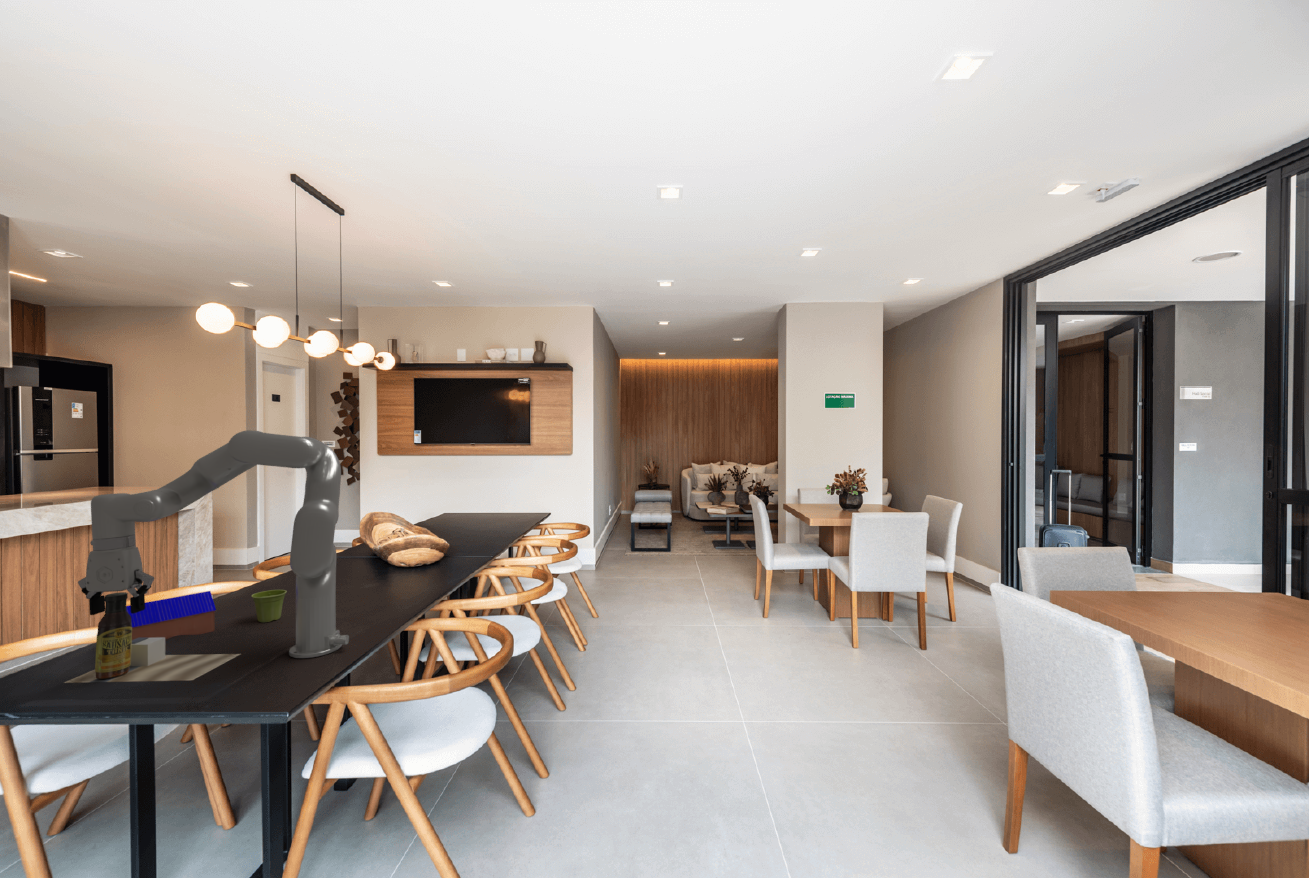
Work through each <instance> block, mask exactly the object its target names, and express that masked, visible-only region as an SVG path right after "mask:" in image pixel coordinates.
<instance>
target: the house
mask: <svg viewBox="0 0 1309 878" xmlns="http://www.w3.org/2000/svg"><path fill="white" fill-rule="evenodd" d="M126 608H127V610H126V611H127V612H128V613H129V615H130V616H131V619H132V640H134V639H136V638H139V637H148V638H156V637H165V641H166V640H169V639H171V638H173V637H177V636H191V635H192V636H195V635H196V636H197V635H202V634H208V633H213V632H215V630H216V628H215V626H216V625H215V622H216V621H215V611H216V610H217V609H216V605H215V602H214V599H213V596H212V592H211V590H207V591H201V592H197V593H191V594H186V595H185V594H184V595H180V596H174V597H168V598H163V599H159V600H153V601H145V609H144V610H142V611H140V612H137V613H131V608H130V605H126Z"/></svg>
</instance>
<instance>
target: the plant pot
mask: <svg viewBox="0 0 1309 878" xmlns="http://www.w3.org/2000/svg"><path fill="white" fill-rule="evenodd" d="M287 592H288V591H287V590H285V589H271V590H270V589H269V590H265V591H263V590H262V591H259V592H256V593H253V594H251V599H253V600H252V601H253V602H254V608H255V612H256V618H257V622H260V623H268V622H269V623H270V622H272V621H278V620H279V619H281V616H282V611H283V605H284V598H285V596H286V594H287Z"/></svg>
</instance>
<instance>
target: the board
mask: <svg viewBox="0 0 1309 878" xmlns="http://www.w3.org/2000/svg"><path fill="white" fill-rule="evenodd" d="M240 655H241V653H221V654H220V653H217V654H216V653H215V654H214V653H212V654H210V653H209V654H204V653H203V654H165V658H164V659H162V660H160V661H158V662H155V663H153V664H151V665H149V666H129V671H128V672H127V673H126V674H123V675H120V676H118V677H113V678H107V679H97V678H96V672H95V669H93V670H90V671H88V672H86V673H83V674H81V675H79V676H76V677H74V678H71V679H69V680H66V681H64V682H63V684H71V683H72V684H74V683H77V684H78V683H79V684H80V683H81V684H82V683H83V684H84V683H123V682H124V683H125V682H126V683H127V682H129V683H131V682H172V681H173V682H177V681H178V682H179V681H180V682H182V681H187V682H189V681H194V680H195V679H197V678H199V677H201V676H204V675H205V674H207V673H209V672H210V671H212V670H214V669H216V668H218V667H220V666H222V665H223V664H226V663H227V662H229V661H231V660H233V659H235V658H237V657H238V656H240Z"/></svg>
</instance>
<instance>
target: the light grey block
mask: <svg viewBox="0 0 1309 878" xmlns="http://www.w3.org/2000/svg"><path fill="white" fill-rule="evenodd" d="M165 655H166V640H165V637H156V638H148V637H139V638H136V639H134V640H132V644H131V665H130V666H149V665H151V664H153V663H155V662H158V661H160V660H162V659H164V658H165Z"/></svg>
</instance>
